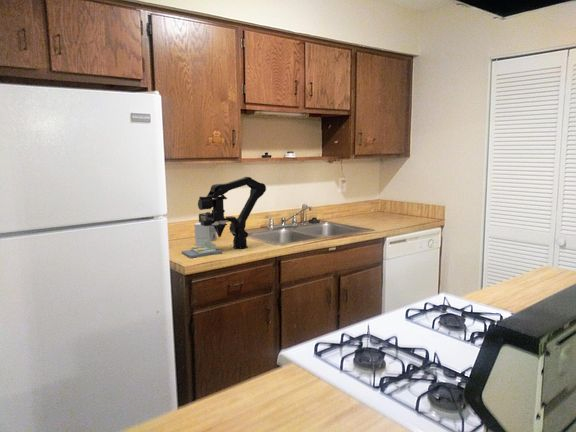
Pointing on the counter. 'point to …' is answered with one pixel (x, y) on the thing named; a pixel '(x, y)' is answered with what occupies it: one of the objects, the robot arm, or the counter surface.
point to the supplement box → (201, 234)
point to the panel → (206, 247)
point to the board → (193, 254)
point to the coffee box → (211, 228)
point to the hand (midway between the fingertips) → (219, 236)
